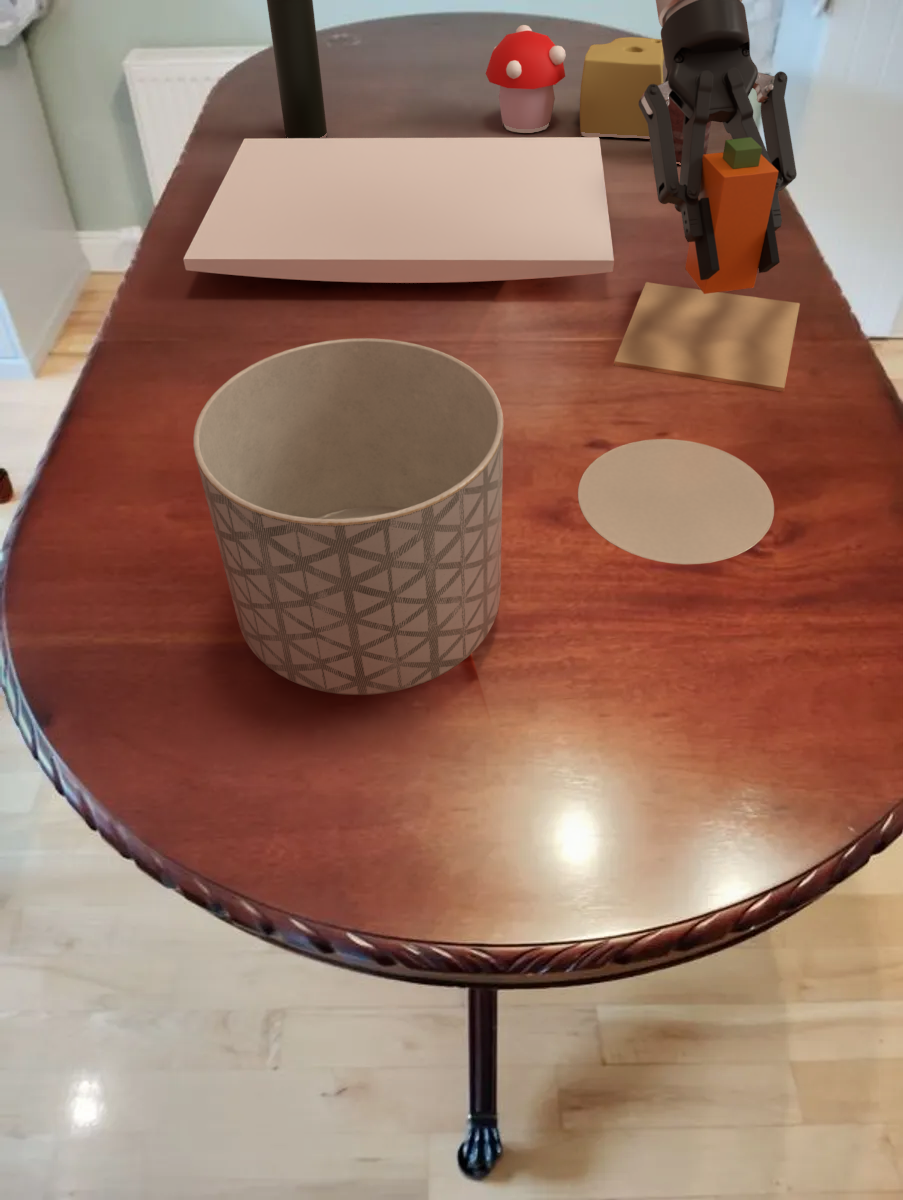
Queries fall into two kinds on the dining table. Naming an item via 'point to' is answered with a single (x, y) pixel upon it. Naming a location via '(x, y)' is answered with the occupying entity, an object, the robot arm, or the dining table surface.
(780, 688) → the dining table surface
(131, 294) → the dining table surface
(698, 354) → the coaster
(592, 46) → the cheese
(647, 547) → the plate
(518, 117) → the mushroom
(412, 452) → the planter
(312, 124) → the wine bottle
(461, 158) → the board
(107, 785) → the dining table surface
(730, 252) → the carrot block
